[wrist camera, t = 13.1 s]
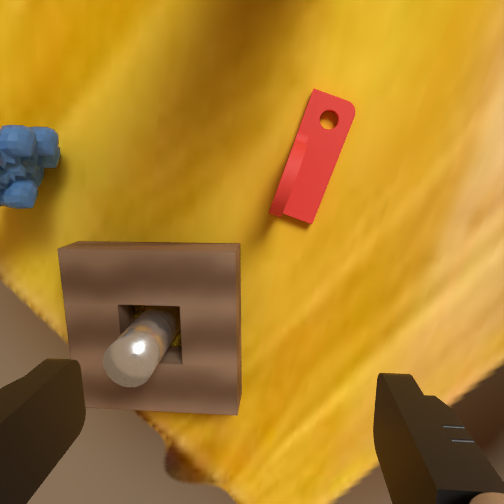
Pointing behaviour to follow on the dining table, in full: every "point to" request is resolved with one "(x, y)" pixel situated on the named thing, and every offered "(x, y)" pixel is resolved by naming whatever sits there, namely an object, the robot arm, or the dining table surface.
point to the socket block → (158, 294)
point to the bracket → (312, 158)
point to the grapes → (25, 162)
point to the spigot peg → (142, 346)
